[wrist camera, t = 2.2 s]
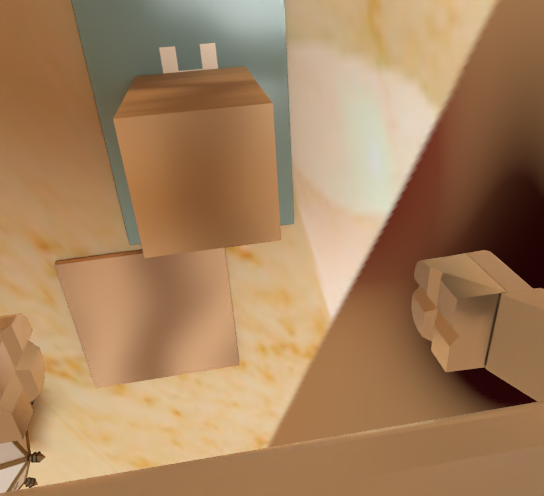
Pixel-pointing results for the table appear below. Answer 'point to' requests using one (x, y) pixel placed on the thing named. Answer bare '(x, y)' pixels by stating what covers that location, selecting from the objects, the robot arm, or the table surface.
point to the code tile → (184, 63)
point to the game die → (16, 464)
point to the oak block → (199, 160)
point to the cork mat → (151, 314)
